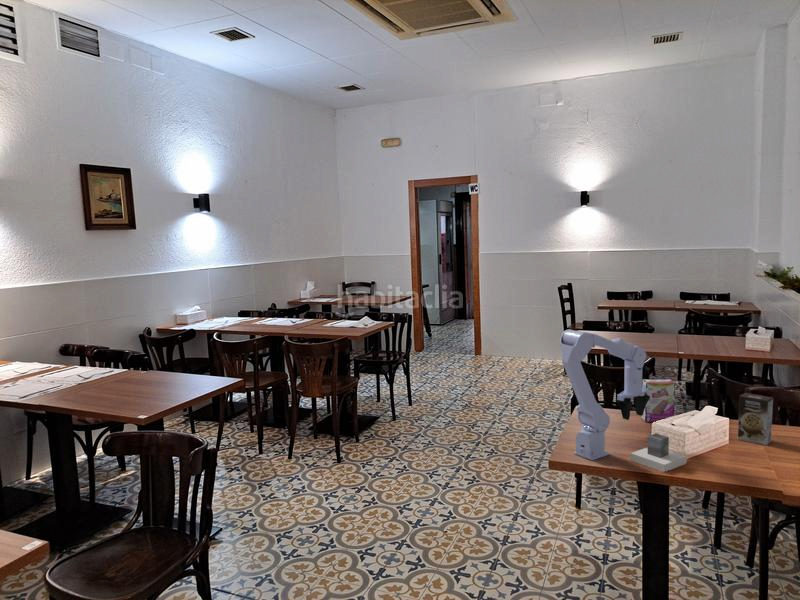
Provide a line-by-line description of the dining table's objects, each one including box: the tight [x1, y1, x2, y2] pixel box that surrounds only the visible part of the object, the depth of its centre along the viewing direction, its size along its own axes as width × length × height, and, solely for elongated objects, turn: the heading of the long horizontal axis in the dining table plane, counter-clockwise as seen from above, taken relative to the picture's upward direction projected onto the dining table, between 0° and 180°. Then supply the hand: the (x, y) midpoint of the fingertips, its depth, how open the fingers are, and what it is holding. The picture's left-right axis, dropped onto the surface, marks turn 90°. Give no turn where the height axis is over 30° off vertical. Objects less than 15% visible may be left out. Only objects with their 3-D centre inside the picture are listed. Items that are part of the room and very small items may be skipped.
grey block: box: [647, 432, 670, 458], centre depth 184 cm, size 4×4×6 cm
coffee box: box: [737, 392, 774, 446], centre depth 200 cm, size 9×6×16 cm
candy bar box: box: [641, 379, 676, 423], centre depth 224 cm, size 11×5×16 cm, turn 84°
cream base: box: [630, 446, 688, 473], centre depth 184 cm, size 12×12×2 cm
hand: (632, 417), depth 198 cm, fingers open, 7 cm apart
